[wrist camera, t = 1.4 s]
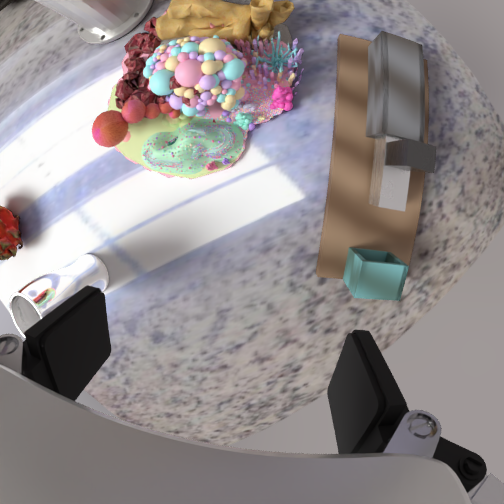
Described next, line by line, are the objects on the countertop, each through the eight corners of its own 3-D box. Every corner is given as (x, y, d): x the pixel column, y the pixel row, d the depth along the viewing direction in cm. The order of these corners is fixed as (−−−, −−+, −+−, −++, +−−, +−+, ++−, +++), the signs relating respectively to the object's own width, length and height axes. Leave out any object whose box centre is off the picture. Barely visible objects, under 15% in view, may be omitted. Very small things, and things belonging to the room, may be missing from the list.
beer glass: (111, 255, 36) (42, 301, 21) (112, 300, 38) (54, 356, 23) (74, 247, 36) (3, 284, 21) (76, 289, 38) (15, 336, 23)
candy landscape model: (142, 6, 26) (114, -24, 17) (312, 15, 25) (323, -23, 17) (100, 168, 33) (57, 171, 24) (277, 196, 33) (280, 206, 24)
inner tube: (377, 49, 24) (404, 21, 16) (401, 56, 24) (432, 33, 16) (368, 203, 29) (398, 215, 22) (393, 207, 29) (428, 220, 21)
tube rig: (337, 38, 26) (350, 14, 19) (421, 63, 26) (447, 48, 19) (315, 272, 35) (325, 295, 28) (399, 279, 34) (422, 301, 28)
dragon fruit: (37, 252, 38) (11, 208, 38) (27, 226, 32) (2, 179, 32) (3, 280, 33) (-20, 232, 33) (-13, 258, 26) (-34, 206, 26)
